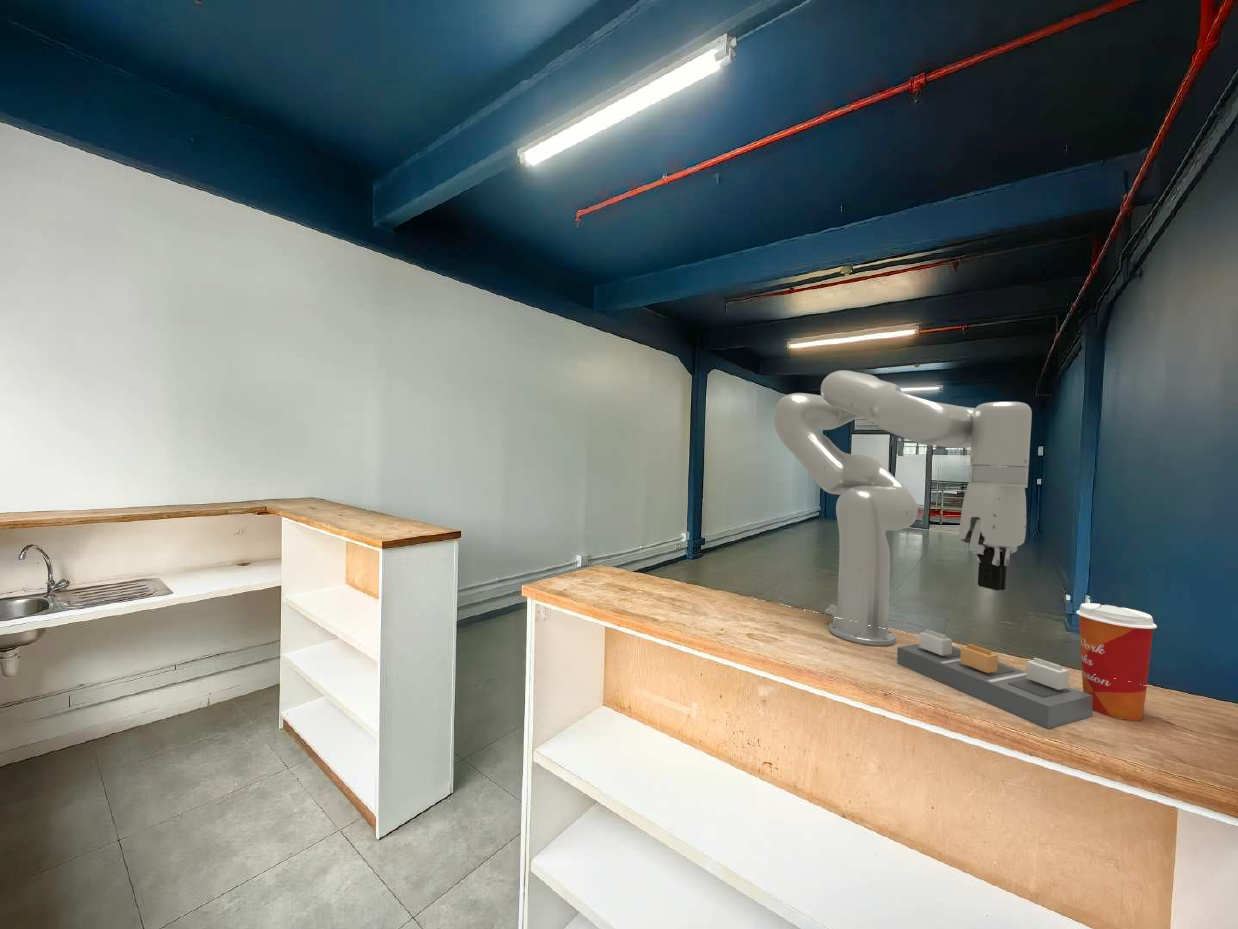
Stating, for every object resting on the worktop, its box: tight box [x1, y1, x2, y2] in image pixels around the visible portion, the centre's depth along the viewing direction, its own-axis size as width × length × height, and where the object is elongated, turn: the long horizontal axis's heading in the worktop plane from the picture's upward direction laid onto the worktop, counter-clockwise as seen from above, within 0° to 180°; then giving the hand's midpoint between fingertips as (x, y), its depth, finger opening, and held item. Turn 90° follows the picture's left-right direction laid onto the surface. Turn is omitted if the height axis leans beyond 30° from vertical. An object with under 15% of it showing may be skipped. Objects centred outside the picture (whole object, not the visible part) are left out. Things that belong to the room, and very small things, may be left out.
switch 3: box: [1025, 657, 1070, 690], centre depth 69 cm, size 4×2×3 cm, turn 22°
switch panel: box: [896, 643, 1093, 730], centre depth 75 cm, size 22×11×3 cm, turn 22°
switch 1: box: [918, 629, 953, 656], centre depth 81 cm, size 4×2×3 cm, turn 22°
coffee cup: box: [1075, 602, 1158, 722], centre depth 69 cm, size 8×8×15 cm
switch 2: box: [960, 643, 999, 673], centre depth 74 cm, size 4×2×3 cm, turn 22°
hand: (991, 587), depth 76 cm, fingers closed
